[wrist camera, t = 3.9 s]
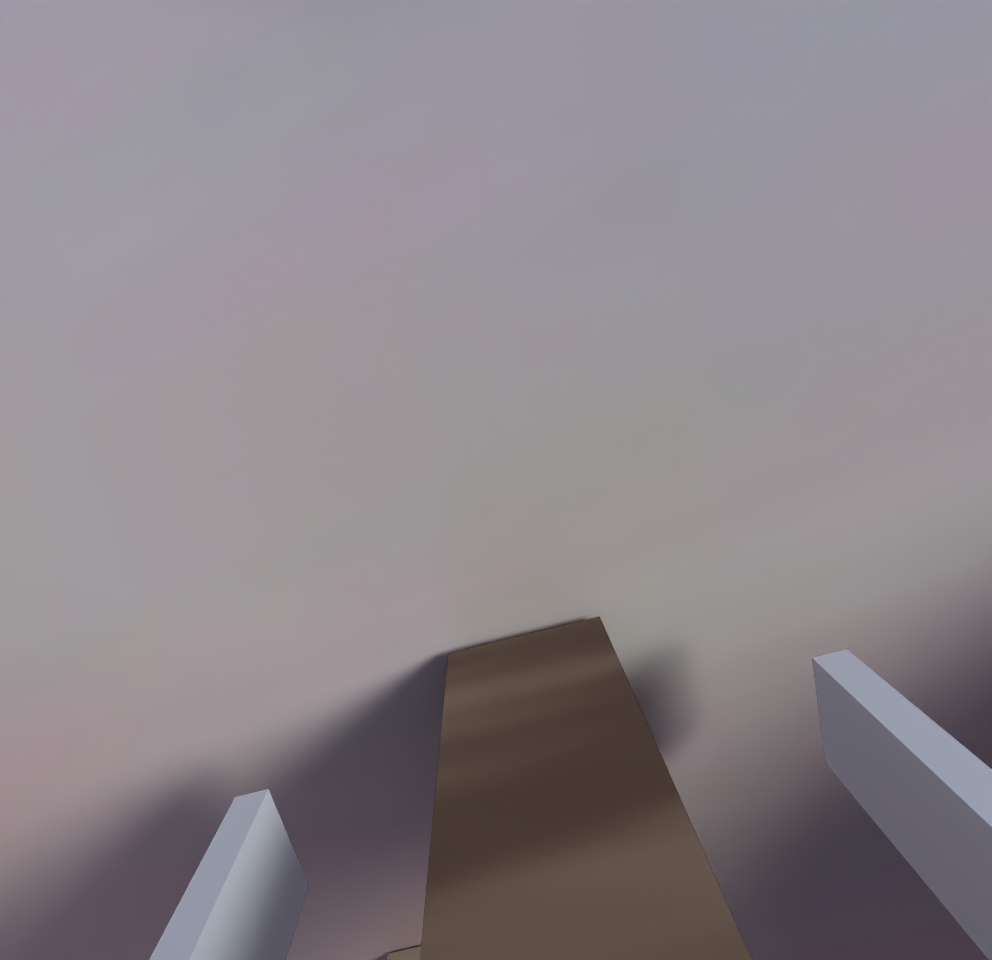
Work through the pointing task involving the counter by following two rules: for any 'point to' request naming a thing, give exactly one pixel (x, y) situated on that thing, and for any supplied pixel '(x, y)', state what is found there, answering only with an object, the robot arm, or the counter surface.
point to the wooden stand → (561, 816)
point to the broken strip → (406, 954)
